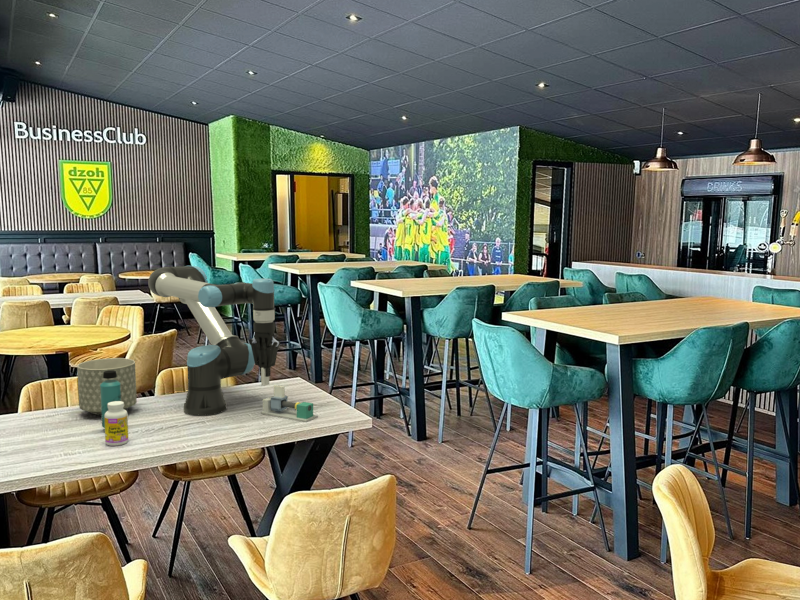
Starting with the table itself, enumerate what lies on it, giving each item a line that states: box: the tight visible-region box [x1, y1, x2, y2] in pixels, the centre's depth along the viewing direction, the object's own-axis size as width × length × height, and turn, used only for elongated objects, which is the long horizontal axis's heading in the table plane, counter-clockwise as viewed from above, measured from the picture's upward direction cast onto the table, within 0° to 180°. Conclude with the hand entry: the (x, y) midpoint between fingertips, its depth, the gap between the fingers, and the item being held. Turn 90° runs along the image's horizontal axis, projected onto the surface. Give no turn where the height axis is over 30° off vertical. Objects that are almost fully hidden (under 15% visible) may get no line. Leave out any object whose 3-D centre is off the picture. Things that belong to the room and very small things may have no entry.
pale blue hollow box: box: [270, 384, 289, 411], centre depth 236 cm, size 4×5×9 cm
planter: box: [76, 357, 137, 416], centre depth 236 cm, size 19×19×18 cm
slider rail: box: [260, 395, 319, 423], centre depth 235 cm, size 20×7×5 cm, turn 62°
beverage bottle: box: [100, 370, 121, 429], centre depth 216 cm, size 6×7×20 cm
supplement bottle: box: [104, 401, 129, 447], centre depth 204 cm, size 7×7×13 cm
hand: (265, 384), depth 239 cm, fingers closed
